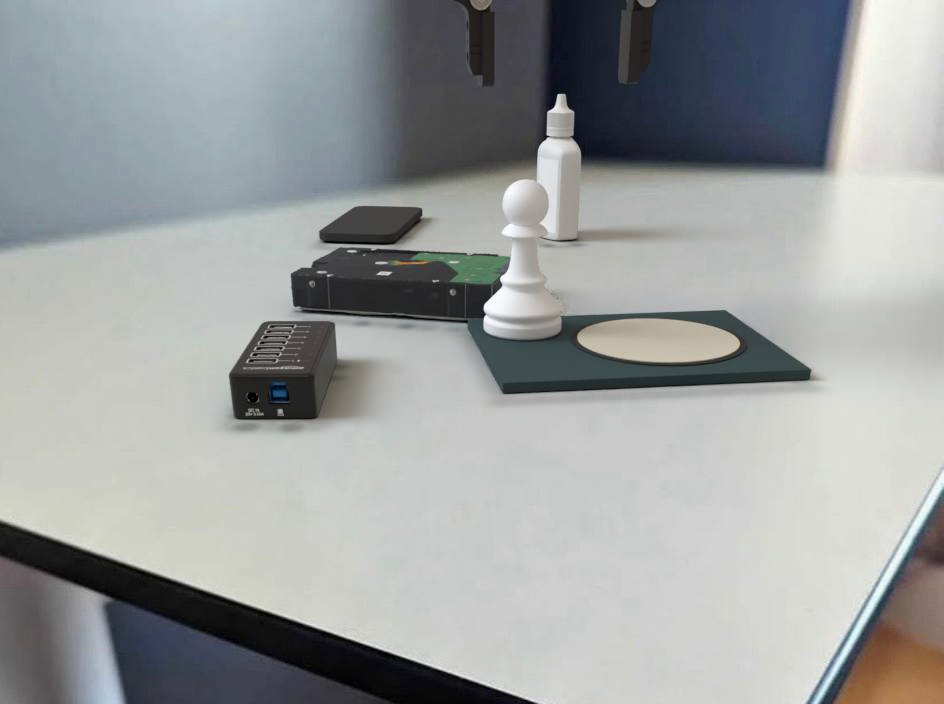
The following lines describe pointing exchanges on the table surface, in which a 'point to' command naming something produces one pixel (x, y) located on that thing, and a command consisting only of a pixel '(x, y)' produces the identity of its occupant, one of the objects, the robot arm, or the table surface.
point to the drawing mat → (637, 353)
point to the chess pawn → (523, 272)
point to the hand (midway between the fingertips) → (557, 84)
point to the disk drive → (400, 283)
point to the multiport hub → (284, 370)
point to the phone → (371, 224)
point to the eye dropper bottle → (560, 173)
